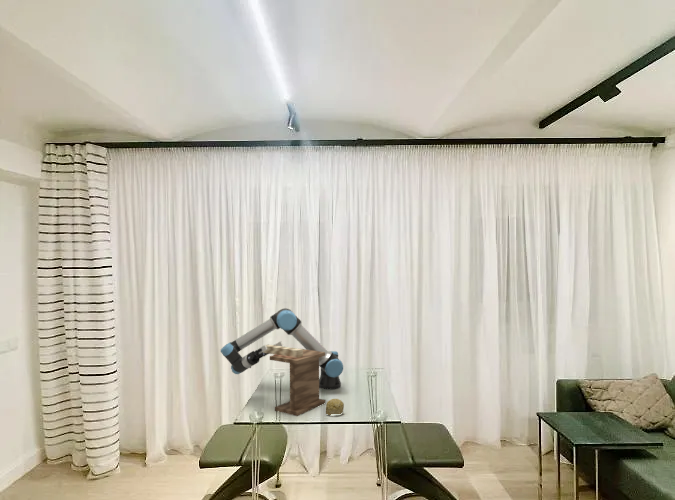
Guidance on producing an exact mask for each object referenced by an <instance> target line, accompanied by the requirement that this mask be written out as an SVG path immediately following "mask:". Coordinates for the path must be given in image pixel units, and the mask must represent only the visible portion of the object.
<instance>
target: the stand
mask: <svg viewBox="0 0 675 500" xmlns="http://www.w3.org/2000/svg"><path fill="white" fill-rule="evenodd" d="M302 349H303V357H299V358H295V357H288V356H282V355H275V354H272V355H270V356H269V361H274V362H275V361H276V362H280V363H286V364H287V363H288V364H289V401H287V402H285V403H283V404H280V405H277V406H275V407H274V411H275V412H278V411H279V412H278V413H283V414H287V415H290V416H296V417H298V416H300V415H303V414H305V413H307V412H310V411H311V410H314V409H317V408H318V406H319V407H321V406H323V405H325V404H326V399H323V398H320V388H319V379H320V366H319V357H322V356H325V352H320V351H313V350H306V349H305V348H302ZM324 403H325V404H324ZM322 404H323V405H322ZM320 405H321V406H320Z"/></svg>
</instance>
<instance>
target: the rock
mask: <svg viewBox="0 0 675 500" xmlns="http://www.w3.org/2000/svg"><path fill="white" fill-rule="evenodd" d="M344 408H345V403H344V401H342V399H339V398H331V399H329V400H328V401H327V402H326V403H325V415H326V414H328V415H331V414H341V413H342V412H343V413H344ZM328 415H327V416H328Z"/></svg>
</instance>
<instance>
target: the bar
mask: <svg viewBox="0 0 675 500" xmlns="http://www.w3.org/2000/svg"><path fill="white" fill-rule="evenodd" d="M265 345H266V347H267V350H265V351H264V352H263V353H269V354H270V355H271V354H272V355H274V354H275V355H282V356H288V357H295V358H299V357H303V349H304V348H298V347H297V348H296V347H288V346H284V345H283V346H275V345H274V344H265ZM269 354H268V355H269Z"/></svg>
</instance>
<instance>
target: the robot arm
mask: <svg viewBox="0 0 675 500" xmlns="http://www.w3.org/2000/svg"><path fill="white" fill-rule="evenodd" d="M280 329H281V330H283V331H284V333H286V334H287V335H288V336H292V337H293V338H295V340H296V341H297V342H298V343H299V344H300V345H301V346H303V349H306V350H313V351H320V352H325V356H322V357H319V368H320V374H319V389H320V390H321V389H323V390H336V389H337V390H338V389H339V388H341V387H342V382H341V380H340V375H342V373H343V371H344V364H343V361H341V359H340V358H339V352H338V351H336V350H334V351H333V350H331V351H330V350H328V349H326V348H325V347H324V346H323V345H322V344H321V343H320V342H319V341H318V340H317V339H316V338H315V337H314V336H313V335H312V334H311V333H310V332H309V330H307V329H306V328H305V327H304V326H303V324H302V320H301V319H300V318H299V317H298V316H297V315H296V314H295V313H294V312H293V310H291V309H289V308H286V307H285V308H281V309H280V310H278V311H277V312H276V313H274V314H272V315H271V316H270V317H269V319H268V320H266V321H264V322H263V323H261V324H259V325H257V326H256V327H254V328H252V329H251V330H249V331H248V332H246V333H245V334H243V335H241V336H239V337H238V338H236V339H234V340H232V341H231V342H228V343H226V344H225V345H224V346H222V348H221V349H220V353H221V354H222V356H224V358H225V359H226V360H227V361H228V362H229V363H230V370H231V372H232V373H233V374H234V375H240V374H241V373H243V372H245V371H246V370H248V369H251V368H252V367H253V366H256V364H258V363H259V362H260V359H262V358H263V357H266V356H267V355H269V353H263V352H264V351H265V350H267V347H266V345H267V344H264V345H262V346H261V347H259V348H257V349H255V350H253V351H250V352H249V353H247V354H245V355H244V356H242V355H241V354H240V353H239V352H241V351H242V350H243V349H245V348H247V347H248V346H250V345H252V344H253V343H255V342H257V341H259V340H260V339H262V338H263V337H265V336H267V335H268V334H270V333H271V332H273V331H275V330H280ZM273 345H275V346H283V347H284V344H283V342H282V340H280V341H279V342H277V343H275V344H273Z"/></svg>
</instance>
